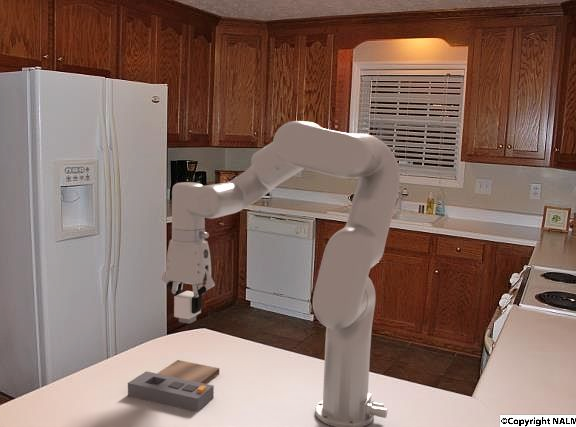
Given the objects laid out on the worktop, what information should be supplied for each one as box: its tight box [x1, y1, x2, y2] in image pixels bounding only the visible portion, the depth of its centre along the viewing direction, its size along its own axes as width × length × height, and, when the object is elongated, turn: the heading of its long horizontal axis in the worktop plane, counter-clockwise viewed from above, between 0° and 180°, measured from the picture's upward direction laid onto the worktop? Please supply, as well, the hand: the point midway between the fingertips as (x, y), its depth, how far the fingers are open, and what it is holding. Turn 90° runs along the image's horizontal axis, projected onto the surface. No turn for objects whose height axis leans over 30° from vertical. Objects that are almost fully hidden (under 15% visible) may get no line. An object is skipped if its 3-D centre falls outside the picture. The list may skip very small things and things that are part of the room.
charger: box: [173, 290, 202, 324], centre depth 137 cm, size 4×6×6 cm
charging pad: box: [156, 359, 220, 384], centre depth 140 cm, size 12×10×2 cm
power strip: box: [127, 370, 215, 413], centre depth 129 cm, size 18×7×4 cm, turn 68°
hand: (187, 309), depth 137 cm, fingers closed on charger, 4 cm apart
